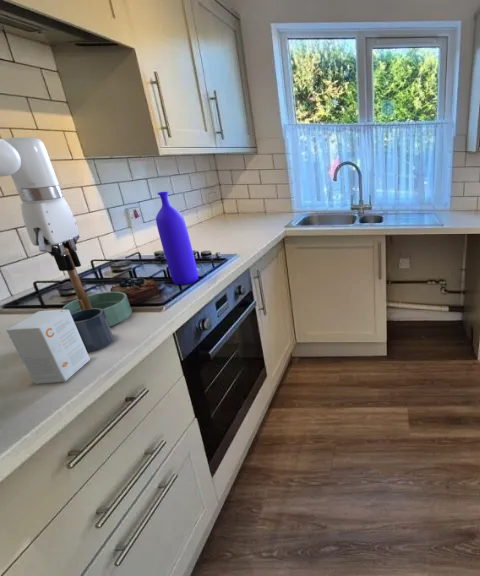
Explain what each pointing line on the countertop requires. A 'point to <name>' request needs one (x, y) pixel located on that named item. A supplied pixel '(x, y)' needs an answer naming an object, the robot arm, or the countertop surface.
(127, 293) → the pastry
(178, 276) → the bottle
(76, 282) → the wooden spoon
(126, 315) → the bowl
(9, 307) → the countertop surface
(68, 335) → the small box
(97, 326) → the crock
